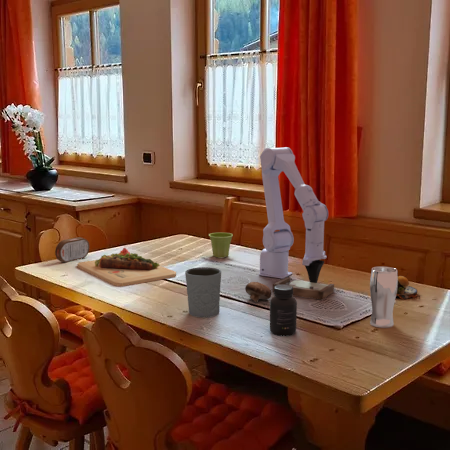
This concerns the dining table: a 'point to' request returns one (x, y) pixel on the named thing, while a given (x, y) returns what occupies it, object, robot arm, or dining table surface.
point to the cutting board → (126, 269)
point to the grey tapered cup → (203, 291)
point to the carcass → (307, 290)
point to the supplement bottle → (283, 311)
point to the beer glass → (383, 296)
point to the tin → (72, 249)
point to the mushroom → (258, 291)
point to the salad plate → (405, 288)
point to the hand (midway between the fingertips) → (313, 282)
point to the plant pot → (220, 244)
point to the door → (307, 285)
